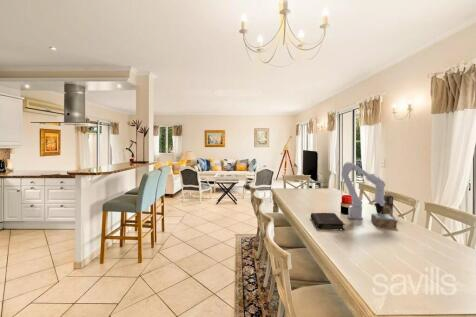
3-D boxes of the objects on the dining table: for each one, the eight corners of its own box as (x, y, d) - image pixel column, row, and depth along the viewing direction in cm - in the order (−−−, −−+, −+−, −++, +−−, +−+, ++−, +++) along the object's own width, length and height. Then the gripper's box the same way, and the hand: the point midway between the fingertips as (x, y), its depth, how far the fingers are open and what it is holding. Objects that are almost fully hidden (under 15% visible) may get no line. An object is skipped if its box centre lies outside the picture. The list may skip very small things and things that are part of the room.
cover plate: (377, 219, 169) (377, 217, 169) (373, 215, 179) (373, 213, 179) (394, 221, 166) (394, 219, 166) (388, 216, 177) (388, 214, 177)
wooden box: (376, 226, 168) (376, 219, 167) (371, 220, 180) (371, 214, 180) (396, 228, 165) (396, 220, 164) (389, 222, 177) (390, 215, 177)
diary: (317, 230, 162) (317, 223, 162) (310, 218, 187) (310, 212, 187) (346, 231, 160) (346, 223, 160) (335, 219, 185) (335, 213, 185)
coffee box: (388, 213, 199) (389, 194, 198) (392, 216, 192) (393, 196, 192) (377, 213, 200) (377, 194, 199) (380, 215, 193) (381, 196, 192)
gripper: (388, 197, 174) (387, 216, 175) (382, 193, 188) (381, 210, 189) (377, 197, 176) (377, 215, 177) (372, 193, 190) (371, 210, 191)
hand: (378, 213), depth 183 cm, fingers closed
